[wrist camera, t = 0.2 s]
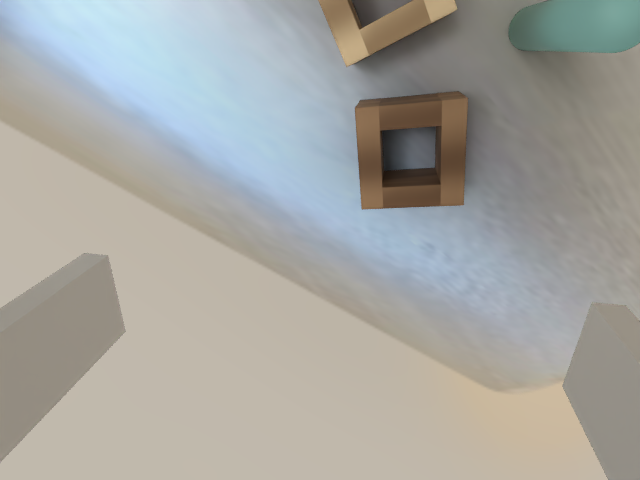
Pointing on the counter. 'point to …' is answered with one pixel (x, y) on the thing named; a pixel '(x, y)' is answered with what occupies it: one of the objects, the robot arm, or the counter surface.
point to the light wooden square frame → (379, 25)
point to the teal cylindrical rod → (577, 26)
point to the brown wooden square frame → (412, 184)
